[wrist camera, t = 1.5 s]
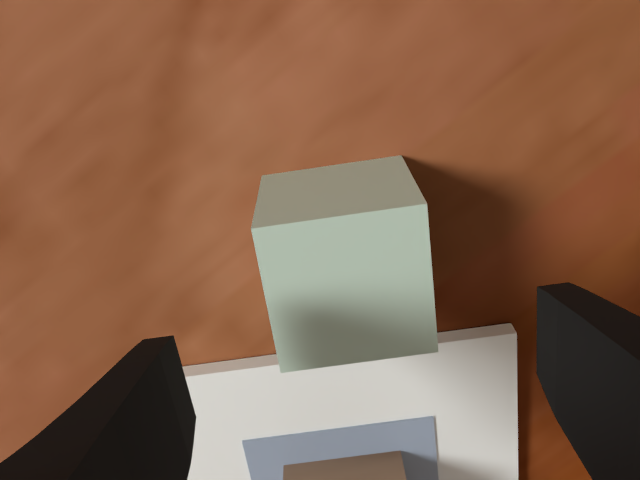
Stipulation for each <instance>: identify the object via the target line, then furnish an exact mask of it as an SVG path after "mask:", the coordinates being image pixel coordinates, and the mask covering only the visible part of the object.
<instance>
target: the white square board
mask: <svg viewBox="0 0 640 480" xmlns="http://www.w3.org/2000/svg"><path fill="white" fill-rule="evenodd" d="M437 339H438V352H435V353H428V354H420V355H413V356H405V357H398V358H390V359H383V360H375V361H368V362H360V363H353V364H346V365H338V366H331V367H323V368H316V369H308V370H301V371H293V372H286V373H281V372H280V367H279V363H278V358H277V354H273V355H266V356H258V357H251V358H243V359H236V360H228V361H221V362H213V363H206V364H198V365H191V366H183V367H182V368H183V371H184V375H185V379H186V382H187V386H188V389H189V393H190V397H191V400H192V404H193V407H194V411H195V414H196V425H195V435H194V444H193V452H192V460H191V466H190V470H189V474H188V478H187V480H283V466H284V465H289V464H297V463H305V462H313V461H321V460H329V459H337V458H345V457H352V456H360V455H368V454H376V453H384V452H392V451H400V450H401V455H402V460H403V465H404V470H405V475H406V480H518V394H517V332H516V331H515V329H514V327H513V326H512V324H511V323H507V324H499V325H492V326H484V327H477V328H469V329H462V330H454V331H447V332H439V333H437Z"/></svg>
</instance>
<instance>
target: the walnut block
mask: <svg viewBox="0 0 640 480" xmlns="http://www.w3.org/2000/svg"><path fill="white" fill-rule="evenodd" d="M283 480H406V475H405V470H404V465H403V460H402V455H401V450H400V451H392V452H384V453H376V454H368V455H360V456H352V457H345V458H337V459H329V460H321V461H313V462H305V463H297V464H289V465H284V466H283Z"/></svg>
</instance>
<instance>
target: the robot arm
mask: <svg viewBox="0 0 640 480" xmlns="http://www.w3.org/2000/svg"><path fill="white" fill-rule="evenodd" d="M537 375H538V378H539V380H540V383H541V385H542V388H543V390H544V392H545V395H546V397H547V400H548V402H549V404H550V406H551V409H552V411H553V413H554V415H555V417H556V419H557V421H558V423H559V424H560V426H561V428H562V430H563V431H564V433H565V435H566V436H567V438H568V440H569V441H570V443H571V445H572V446H573V448H574V450H575V451H576V453H577V455H578V456H579V458H580V460H581V461H582V463H583V465H584V466H585V468H586V470H587V471H588V473H589V475H590V476H591V478H592V479H593V480H640V317H639V316H637V315H635V314H633V313H631V312H629V311H627V310H625V309H623V308H621V307H619V306H617V305H615V304H613V303H611V302H609V301H607V300H605V299H603V298H601V297H599V296H597V295H595V294H593V293H591V292H589V291H587V290H585V289H583V288H581V287H579V286H576V285H574V284H571V283H569V282H568V283H561V284H553V285H546V286H538V287H537ZM195 425H196V414H195V411H194V407H193V404H192V400H191V397H190V393H189V389H188V386H187V382H186V379H185V375H184V371H183V368H182V364H181V361H180V357H179V354H178V350H177V346H176V343H175V339H174V336H166V337H159V338H151V339H144V340H142V341H141V342H140V343H139V344H137V345H136V346H135V347H134V348H133V349H132V350H131V351H129V352H128V353H127V354H126V355H125V356H124V357H123V358H122V359H121V360H120V361H119V362H118V363H117V364H116V365H115V366H114V367H112V368H111V369H110V370H109V371H108V372H107V373H106V374H105V375H104V376H103V377H102V378H101V379H100V380H99V381H98V382H97V383H96V384H94V385H93V386H92V387H91V388H90V389H89V390H88V391H87V392H86V393H85V394H84V395H83V396H82V397H81V398H80V399H78V400H77V401H76V402H75V403H74V404H73V405H72V406H70V407H69V408H68V409H67V410H66V411H65V412H63V413H62V414H61V415H60V416H59V417H58V418H56V419H55V420H54V421H53V422H52V423H51V424H49V425H48V426H47V427H46V428H45V429H44V430H43V431H41V432H40V433H39V434H38V435H37V436H35V437H34V438H33V439H32V440H30V441H29V442H28V443H27V444H25V445H24V446H23V447H21V448H20V449H19V450H18V451H16V452H15V453H14V454H12V455H11V456H9V457H8V458H7V459H5V460H4V461H3V462H1V463H0V480H187V478H188V474H189V470H190V466H191V460H192V452H193V444H194V435H195Z"/></svg>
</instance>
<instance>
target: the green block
mask: <svg viewBox="0 0 640 480" xmlns="http://www.w3.org/2000/svg"><path fill="white" fill-rule="evenodd" d="M251 231H252V236H253V241H254V245H255V250H256V255H257V260H258V265H259V270H260V275H261V280H262V284H263V289H264V294H265V299H266V304H267V309H268V314H269V319H270V323H271V328H272V333H273V338H274V343H275V348H276V353H277V358H278V363H279V367H280V372H281V373H286V372H293V371H301V370H308V369H316V368H323V367H331V366H338V365H346V364H353V363H360V362H368V361H375V360H383V359H390V358H398V357H405V356H413V355H420V354H428V353H435V352H438V339H437V326H436V313H435V300H434V287H433V273H432V260H431V247H430V234H429V221H428V208H427V202H426V201H425V199H424V197H423V195H422V193H421V191H420V189H419V187H418V186H417V184H416V182H415V180H414V178H413V176H412V174H411V172H410V171H409V169H408V167H407V165H406V163H405V161H404V159H403V158H402V156H401V155H400V156H393V157H386V158H380V159H373V160H366V161H359V162H352V163H345V164H338V165H332V166H325V167H318V168H311V169H304V170H297V171H290V172H283V173H277V174H270V175H263V176H262V178H261V183H260V187H259V192H258V197H257V202H256V207H255V212H254V217H253V222H252V227H251Z"/></svg>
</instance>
